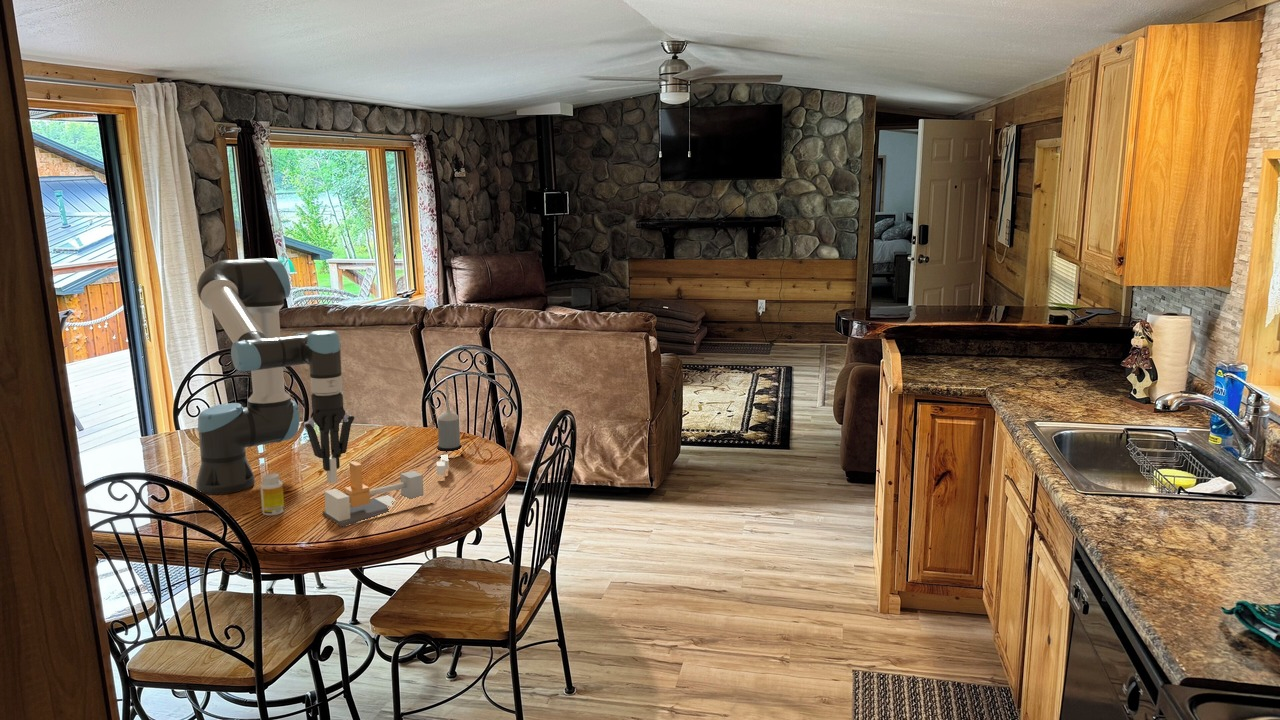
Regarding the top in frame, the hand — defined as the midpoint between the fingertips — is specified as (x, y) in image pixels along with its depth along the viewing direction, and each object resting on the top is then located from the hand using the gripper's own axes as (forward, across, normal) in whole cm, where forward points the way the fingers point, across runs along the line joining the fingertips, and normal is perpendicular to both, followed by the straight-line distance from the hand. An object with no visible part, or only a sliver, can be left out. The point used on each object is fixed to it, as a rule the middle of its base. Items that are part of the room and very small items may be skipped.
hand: (332, 481), depth 223 cm
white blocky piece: (+11, +39, +13) cm, 43 cm away
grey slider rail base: (+11, +12, 0) cm, 16 cm away
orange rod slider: (+8, +7, 0) cm, 10 cm away
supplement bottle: (+11, -10, +16) cm, 21 cm away
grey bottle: (+11, +52, +30) cm, 61 cm away
